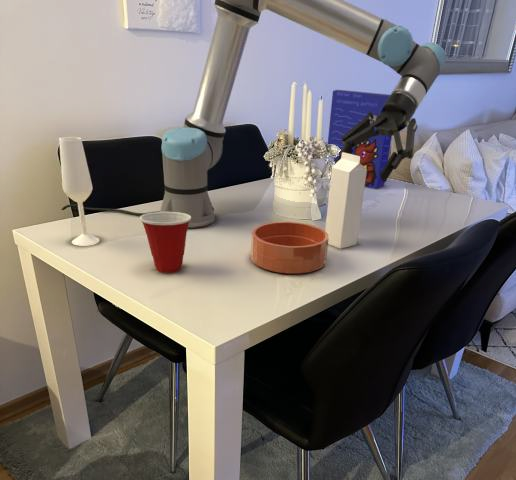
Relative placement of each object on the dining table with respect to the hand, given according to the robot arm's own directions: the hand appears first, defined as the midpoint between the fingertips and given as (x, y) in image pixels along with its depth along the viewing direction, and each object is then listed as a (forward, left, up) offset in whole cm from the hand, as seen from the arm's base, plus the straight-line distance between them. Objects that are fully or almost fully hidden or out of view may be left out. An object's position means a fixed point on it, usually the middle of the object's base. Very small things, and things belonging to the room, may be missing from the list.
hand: (358, 173), depth 124 cm
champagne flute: (-68, +4, -17) cm, 70 cm away
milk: (-4, -3, -17) cm, 18 cm away
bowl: (-20, -13, -17) cm, 29 cm away
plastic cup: (-48, -15, -17) cm, 53 cm away
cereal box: (+22, +61, -17) cm, 67 cm away
